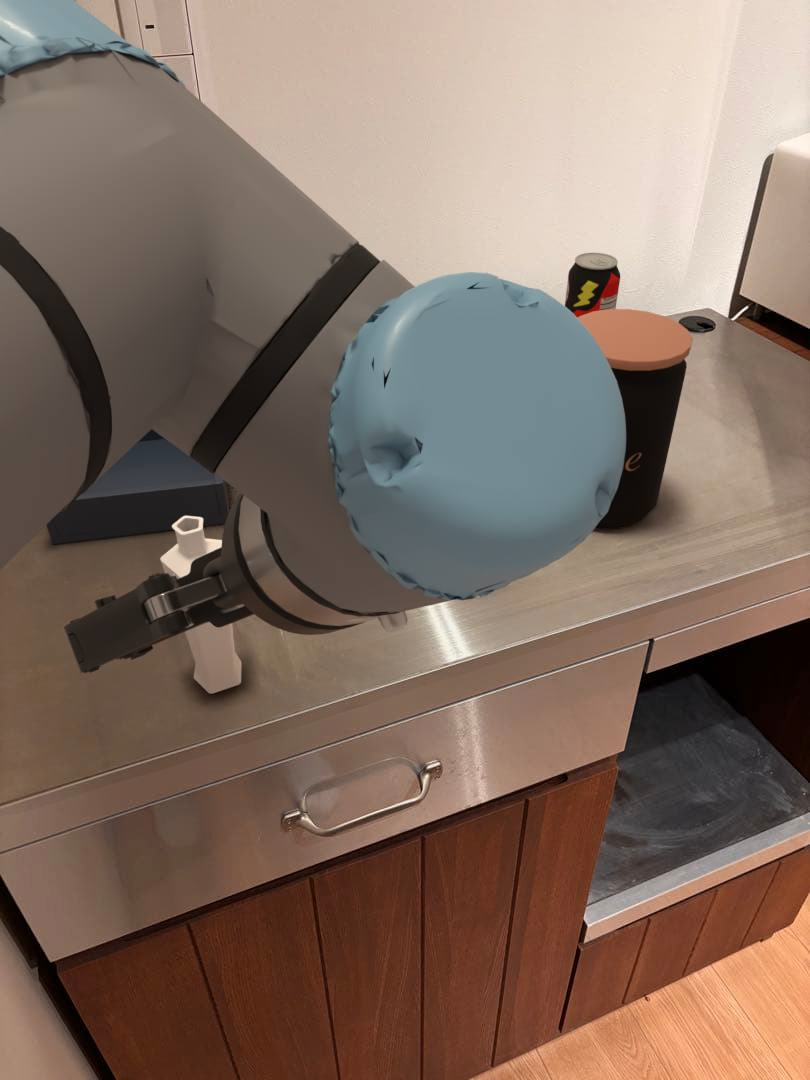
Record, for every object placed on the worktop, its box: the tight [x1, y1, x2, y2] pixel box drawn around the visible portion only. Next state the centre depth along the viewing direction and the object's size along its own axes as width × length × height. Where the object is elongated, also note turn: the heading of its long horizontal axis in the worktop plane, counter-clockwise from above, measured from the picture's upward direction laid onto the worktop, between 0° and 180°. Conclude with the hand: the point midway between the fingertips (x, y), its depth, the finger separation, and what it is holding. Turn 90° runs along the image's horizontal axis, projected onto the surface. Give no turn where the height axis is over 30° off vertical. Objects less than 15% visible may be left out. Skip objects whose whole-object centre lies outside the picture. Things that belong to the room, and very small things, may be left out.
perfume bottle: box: [159, 516, 243, 695], centre depth 63 cm, size 5×4×15 cm
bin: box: [45, 429, 230, 545], centre depth 87 cm, size 17×17×5 cm
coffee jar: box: [578, 308, 693, 530], centre depth 80 cm, size 11×11×18 cm
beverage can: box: [564, 252, 621, 318], centre depth 108 cm, size 6×6×12 cm
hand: (237, 595), depth 53 cm, fingers open, 13 cm apart
